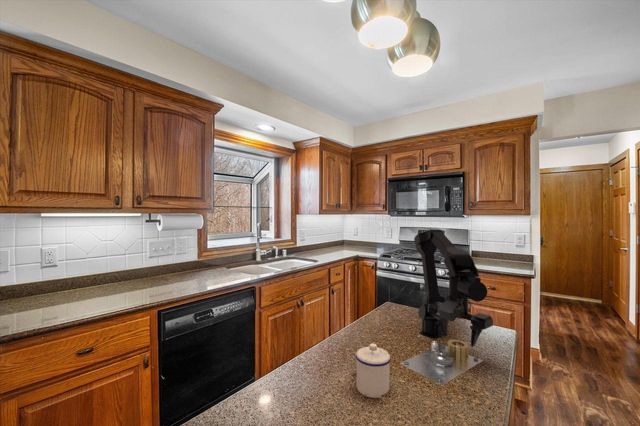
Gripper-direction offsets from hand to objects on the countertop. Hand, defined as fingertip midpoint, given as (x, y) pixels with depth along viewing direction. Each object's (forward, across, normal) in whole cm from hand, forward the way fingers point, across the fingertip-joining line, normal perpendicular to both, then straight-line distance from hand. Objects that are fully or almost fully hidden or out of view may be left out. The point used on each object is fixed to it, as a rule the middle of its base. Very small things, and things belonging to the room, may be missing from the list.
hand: (458, 340), depth 93 cm
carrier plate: (+6, -1, -7) cm, 10 cm away
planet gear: (+5, 0, 0) cm, 5 cm away
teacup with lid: (+6, -6, -34) cm, 35 cm away
